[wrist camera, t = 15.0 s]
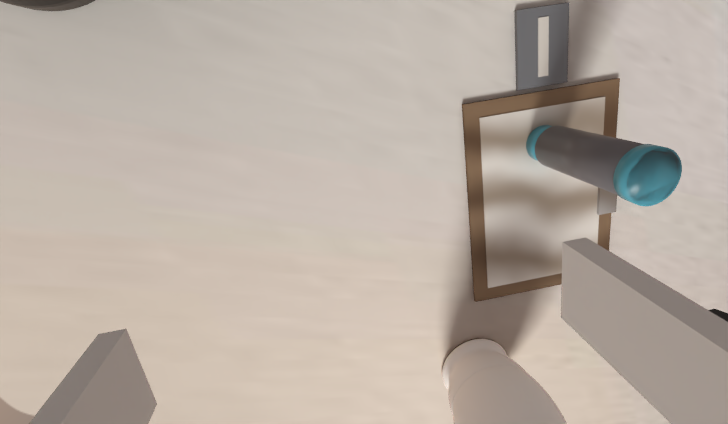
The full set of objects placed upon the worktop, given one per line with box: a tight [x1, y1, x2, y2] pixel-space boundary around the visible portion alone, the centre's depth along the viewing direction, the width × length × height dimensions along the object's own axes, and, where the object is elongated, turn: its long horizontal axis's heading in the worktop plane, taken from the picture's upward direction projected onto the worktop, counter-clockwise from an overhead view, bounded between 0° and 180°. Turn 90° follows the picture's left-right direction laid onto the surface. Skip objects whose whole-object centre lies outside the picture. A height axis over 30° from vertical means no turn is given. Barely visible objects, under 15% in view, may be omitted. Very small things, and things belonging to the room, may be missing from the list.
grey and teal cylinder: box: [526, 125, 682, 206], centre depth 35 cm, size 4×4×14 cm
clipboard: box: [462, 78, 620, 302], centre depth 44 cm, size 22×16×1 cm
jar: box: [442, 339, 567, 424], centre depth 43 cm, size 11×10×15 cm
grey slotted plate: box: [515, 3, 569, 90], centre depth 39 cm, size 7×5×1 cm
